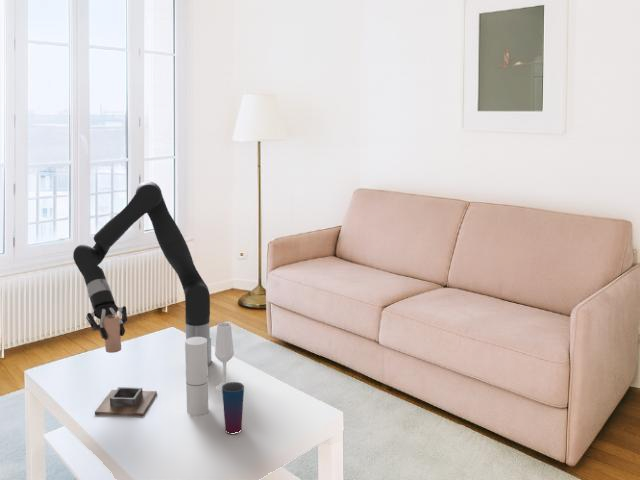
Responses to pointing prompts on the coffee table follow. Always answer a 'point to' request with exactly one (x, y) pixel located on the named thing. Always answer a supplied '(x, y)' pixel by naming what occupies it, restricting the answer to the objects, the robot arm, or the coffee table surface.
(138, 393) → the holder
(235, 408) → the cup
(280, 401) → the coffee table surface
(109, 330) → the roll
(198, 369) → the cylindrical container
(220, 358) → the champagne flute
